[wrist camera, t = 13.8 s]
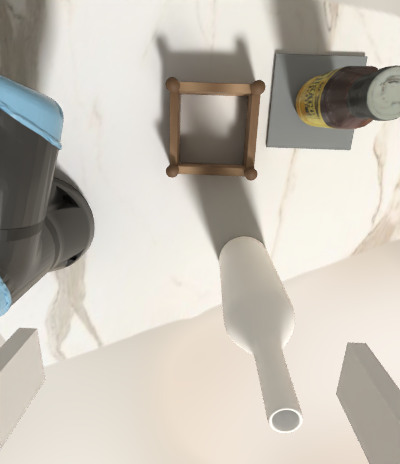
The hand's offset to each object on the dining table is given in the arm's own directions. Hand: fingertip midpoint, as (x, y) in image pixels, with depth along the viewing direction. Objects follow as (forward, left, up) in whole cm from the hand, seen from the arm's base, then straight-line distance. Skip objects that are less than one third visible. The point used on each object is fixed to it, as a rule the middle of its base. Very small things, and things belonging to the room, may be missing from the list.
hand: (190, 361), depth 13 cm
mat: (+15, +13, -37) cm, 42 cm away
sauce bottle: (+15, +13, -36) cm, 41 cm away
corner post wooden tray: (+1, +9, -37) cm, 38 cm away
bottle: (+7, -11, -37) cm, 39 cm away
